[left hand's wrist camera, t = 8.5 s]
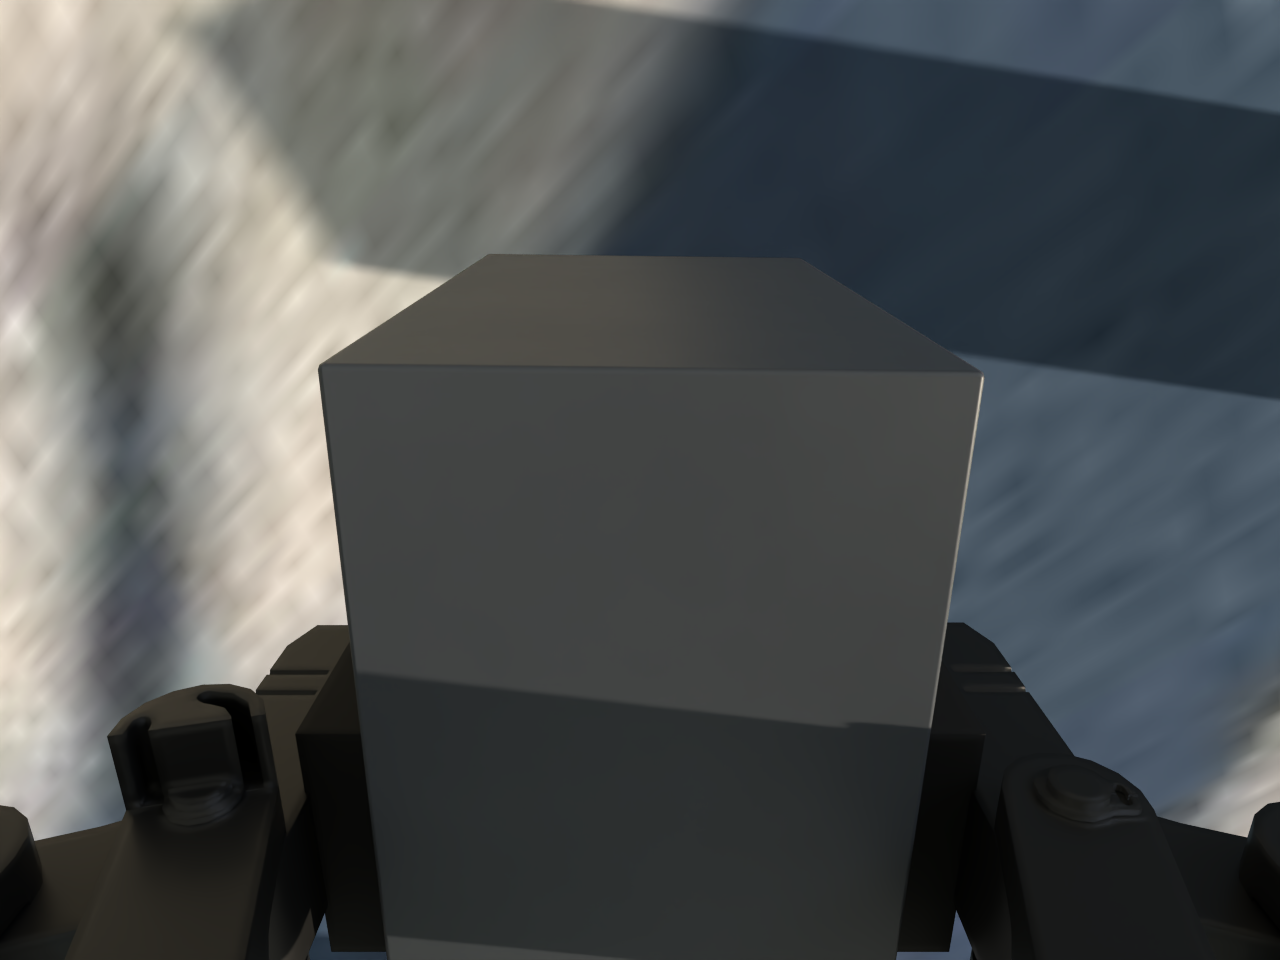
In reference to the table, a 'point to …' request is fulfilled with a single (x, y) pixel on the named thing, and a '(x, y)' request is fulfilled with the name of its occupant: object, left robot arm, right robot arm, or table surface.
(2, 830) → the left robot arm
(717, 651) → the post
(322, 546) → the table surface
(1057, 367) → the table surface
